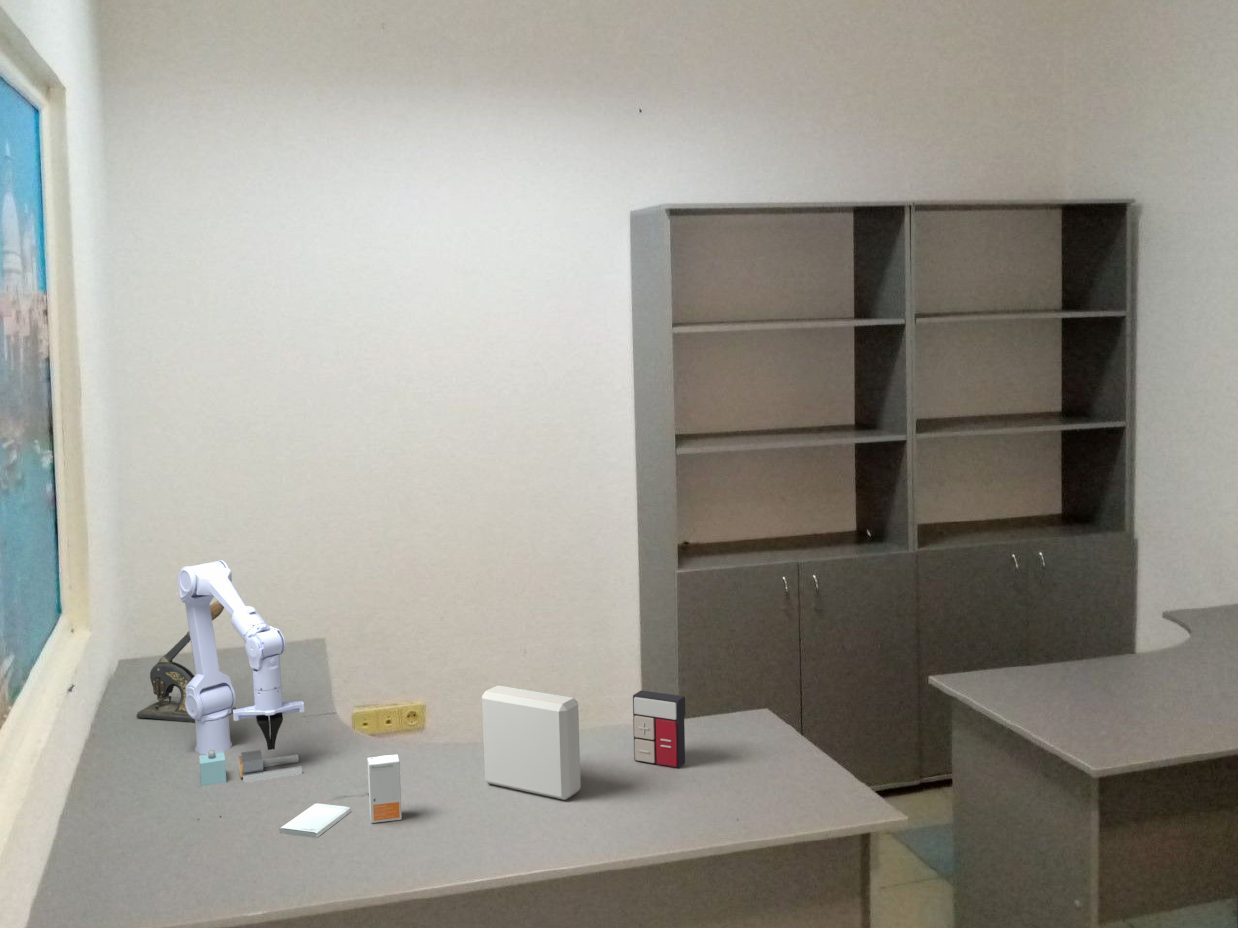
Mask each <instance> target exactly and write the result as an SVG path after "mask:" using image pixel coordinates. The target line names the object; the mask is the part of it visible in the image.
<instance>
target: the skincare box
mask: <svg viewBox="0 0 1238 928" xmlns="http://www.w3.org/2000/svg"><path fill="white" fill-rule="evenodd" d="M366 759H367V783H368V807H369V809H368V810H369V819H370V823H371V824H375V823H383V822H384V823H385V822H391V821H401V820H402V790H401V789H402V788H401V786H402V785H401V762H400V757H399V754H388V755H386V754H385V755H378V756H373V757H371V756H370V757H367V758H366Z"/></svg>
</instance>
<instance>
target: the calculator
mask: <svg viewBox="0 0 1238 928" xmlns="http://www.w3.org/2000/svg"><path fill="white" fill-rule="evenodd" d="M685 716H686V697H685V696H684V695H679V694H671V693H662V692H655V691H649V690H642V689H641V690H639V691H638V692H636V693H634V694H633V695H632V718H633V720H632V722H633V724H632V725H633V756H634V757H633V759H634V761H635V762H638V763H645V764H650V765H651V764H652V765H657V766H663V767H670V768H674V769H680V768H681V767H682V766H684V765H685V764H686V748H685V747H686V743H685V741H686V739H685V736H686V733H685Z"/></svg>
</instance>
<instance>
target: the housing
mask: <svg viewBox="0 0 1238 928" xmlns="http://www.w3.org/2000/svg"><path fill="white" fill-rule="evenodd" d="M198 759H199V771H200V772H199V773H200V785H201V787H203V786H210V785H216V784H222V783H223V784H224V783H227V771H226V770H227V768H226V757H225V752H222V753H215V750H209V751H208V755H207V754H200V755H199V756H198Z"/></svg>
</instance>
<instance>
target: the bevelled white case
mask: <svg viewBox="0 0 1238 928" xmlns="http://www.w3.org/2000/svg"><path fill="white" fill-rule="evenodd" d="M481 705H482V707H481V708H482V709H481V710H482V732H483V738H482V739H483V756H484V757H483V761H484V781H485V782H487V784H489V785H494V786H498V787H503V788H506V789H507V788H508V789H512V790H517V791H520V792H526V793H529V794H535V795H540V796H544V797H548V798H554V799H556V800H557V799H558V800H561V801H566V800H568V799H570V798H571V797H573V796H575V795H576V794H577V793H578V792H579V791H580V790H581V788H582V787H581V755H580V723H579V722H580V716H579V703H578V700H576V699H575V698H574V697H571V696H565V695H558V694H552V693H546V692H540V691H534V690H528V689H522V688H521V689H520V688H515V687H509V686H504V685H496V686H494V687H491V688H489V689H487V690H485V691H484V693H483V694H482V695H481Z"/></svg>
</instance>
